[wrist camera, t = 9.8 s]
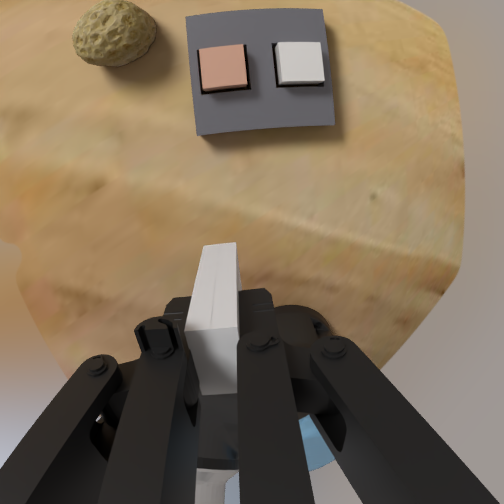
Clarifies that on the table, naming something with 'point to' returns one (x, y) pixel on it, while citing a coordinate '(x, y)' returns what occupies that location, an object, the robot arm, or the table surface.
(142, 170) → the table surface
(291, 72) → the key soft
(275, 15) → the key panel
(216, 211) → the table surface
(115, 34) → the rock
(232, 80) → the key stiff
